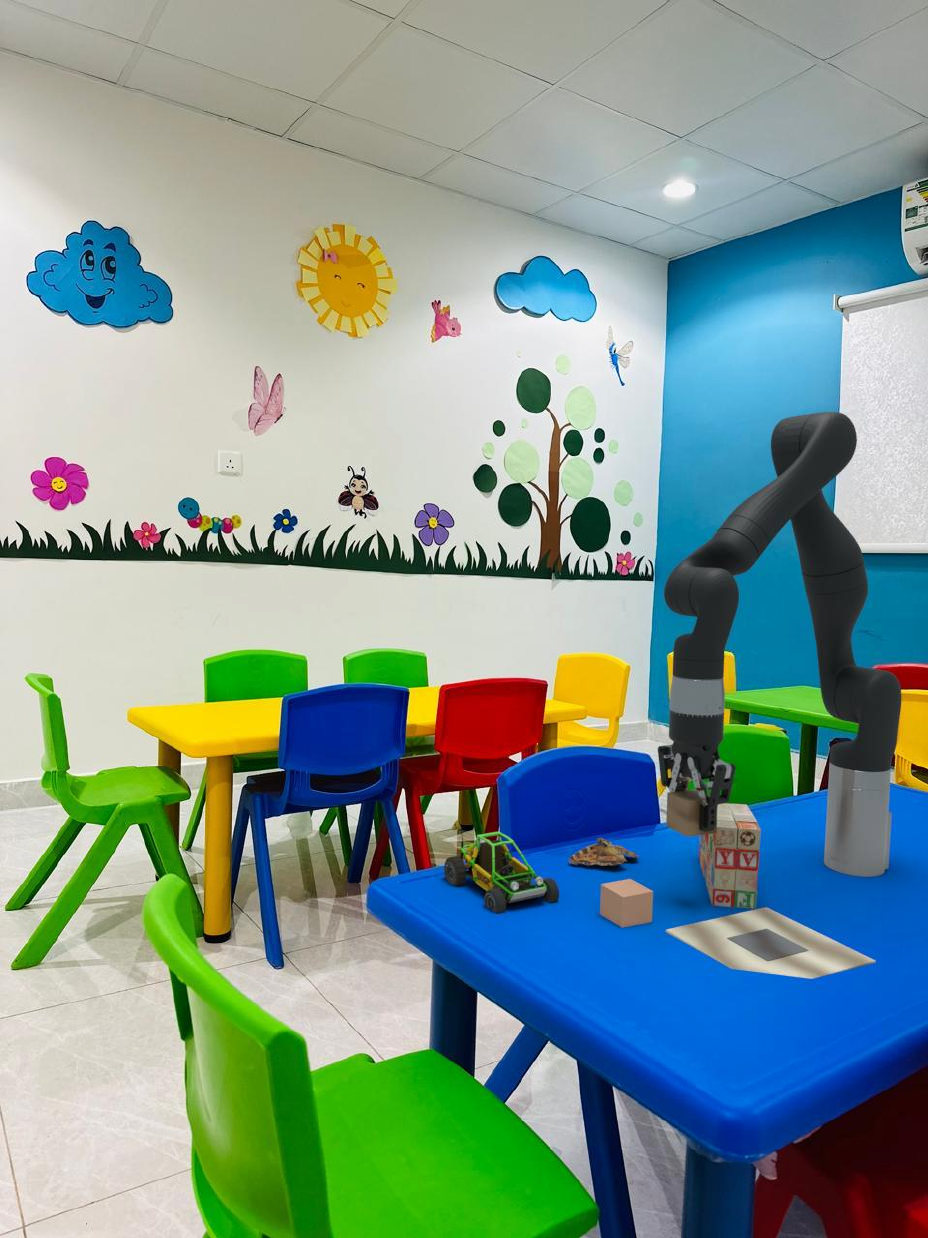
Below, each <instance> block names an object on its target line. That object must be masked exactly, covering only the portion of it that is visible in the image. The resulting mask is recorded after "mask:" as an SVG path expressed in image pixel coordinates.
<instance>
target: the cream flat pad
mask: <svg viewBox="0 0 928 1238" xmlns="http://www.w3.org/2000/svg"><path fill="white" fill-rule="evenodd" d="M665 933H667V934H669V935H670V936H672V937H674V938H676V939H677V940H680V941H681V942H683V943H685V944H686V945H689V946H690V947H692V948H694V949H695V950H697V951H699V952H701V953H702V954H704V955H706V956H708V957H710V958H711V959H714V960H715V961H717V962H718V963H721V964H723V965H724V966H725V967H728V968H729V969H731V970H740V971H746V972H747V971H748V972H756V973H763V974H771V975H780V976H787V977H794V978H804V979H809V980H810V979H811V980H812V979H817V978H820V977H824V976H825V977H826V976H827V975H828V976H829V975H833V974H836V973H840V972H844V971H847V970H851V969H852V970H853V969H856V968H859V967H863V966H868V965H872V964H876V959H873V958H871V957H869V956H867V955H864V954H863V953H862V952H861V953H860V951H857V950H855V949H852V947H848V946H846V945H844V944H842V943H840V942H838V941H836V940H835V939H832V938H831V937H828V936H826V935H824V934H822V933H820V932H817V931H816V930H814V929H811V928H810V927H808V926H806V925H803V924H801V923H799V922H798V921H795V920H794V919H791V918H789V917H787V916H785V915H783V914H781V913H779V912H777V911H775V910H773V909H770V907H766V906H765V907H761V908H756V909H751V910H747V911H742V912H738V913H734V914H729V915H726V916H725V915H724V916H720V917H717V918H712V919H708V920H703V921H698V922H694V923H690V924H684V925H680V926H676V927H673V928H668V929H665Z"/></svg>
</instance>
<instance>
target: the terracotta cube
mask: <svg viewBox="0 0 928 1238" xmlns="http://www.w3.org/2000/svg"><path fill="white" fill-rule="evenodd" d="M653 900H654V891H653V890H651V889H650V888H648V887H646V886H644V885H642V884H640V883H639V882H637V881H635V880H633V879H631V878H627V879H623V880H617V881H611V882H605V883H601V884H600V903H599V904H600V907H599V909H600V910H599V915H600V916H602V917H603V918H605V919H607V920H609V921H610V922H612V923H614V924H616V925H617V926H619V927H620V928H626V927H632V926H633V927H634V926H636V925H643V924H649V923H652V922H653Z"/></svg>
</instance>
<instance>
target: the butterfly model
mask: <svg viewBox="0 0 928 1238" xmlns="http://www.w3.org/2000/svg"><path fill="white" fill-rule="evenodd" d="M596 841H597V842H596V843H594V844H590V845H588V846H585V847H584V848H582V849H580V850H579V851H576V852H575V853H574V854H572V855H571V856H570V857H569V858H568V862H569V863H570V864H573V865H575V866H576V865H579V864H580V865H585V866H593V865H597V866H600V867H606V866H611V867H612V866H613V867H615V866H618V865H623V864H624V863H628V860H627V859H626V858H625V856H628V857H631V858H634V859H636V858H640V856H639V855H638V853H634V852H632V851H629V849H626V848H624V846H620V845H617V844H615V845H614V844H612V842H611V841H609V840H608V839H604V838H603V837H599V838H596Z"/></svg>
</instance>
